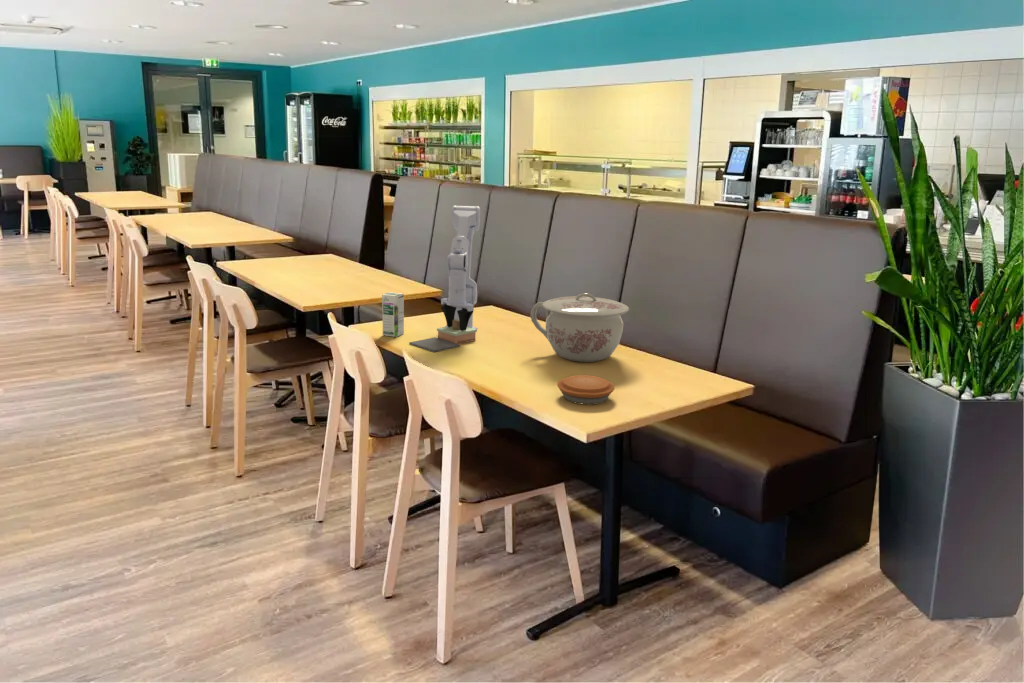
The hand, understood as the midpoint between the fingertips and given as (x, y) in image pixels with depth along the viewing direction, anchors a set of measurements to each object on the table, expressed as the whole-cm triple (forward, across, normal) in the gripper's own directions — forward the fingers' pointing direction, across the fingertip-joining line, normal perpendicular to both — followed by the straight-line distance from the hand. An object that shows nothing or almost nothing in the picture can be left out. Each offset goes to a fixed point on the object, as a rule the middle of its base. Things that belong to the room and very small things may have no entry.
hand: (456, 328), depth 263 cm
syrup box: (+4, -19, -12) cm, 23 cm away
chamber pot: (+4, +41, +18) cm, 45 cm away
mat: (+4, +1, -10) cm, 11 cm away
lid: (+1, 0, 0) cm, 1 cm away
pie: (+4, +68, -14) cm, 69 cm away
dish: (+4, 0, 0) cm, 4 cm away
